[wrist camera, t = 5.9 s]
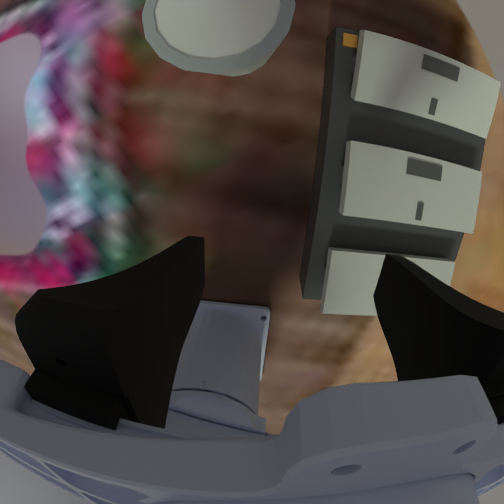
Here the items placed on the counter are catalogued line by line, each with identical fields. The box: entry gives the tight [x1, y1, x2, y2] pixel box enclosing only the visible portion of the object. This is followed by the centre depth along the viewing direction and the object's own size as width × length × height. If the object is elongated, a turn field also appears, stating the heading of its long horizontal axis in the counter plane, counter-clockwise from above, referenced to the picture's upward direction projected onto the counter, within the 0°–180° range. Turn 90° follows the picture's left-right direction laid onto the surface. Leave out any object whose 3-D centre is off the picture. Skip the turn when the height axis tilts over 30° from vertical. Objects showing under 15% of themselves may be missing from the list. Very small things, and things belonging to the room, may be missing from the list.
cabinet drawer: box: [350, 30, 501, 139], centre depth 12 cm, size 4×9×1 cm, turn 87°
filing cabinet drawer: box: [339, 141, 482, 234], centre depth 15 cm, size 4×9×1 cm, turn 86°
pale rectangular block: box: [320, 247, 455, 316], centre depth 18 cm, size 4×9×1 cm, turn 86°
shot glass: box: [142, 0, 296, 77], centre depth 12 cm, size 7×7×7 cm
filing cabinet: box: [299, 27, 485, 300], centre depth 17 cm, size 18×11×4 cm, turn 176°
